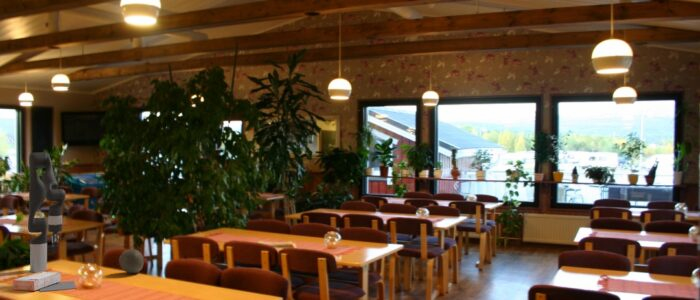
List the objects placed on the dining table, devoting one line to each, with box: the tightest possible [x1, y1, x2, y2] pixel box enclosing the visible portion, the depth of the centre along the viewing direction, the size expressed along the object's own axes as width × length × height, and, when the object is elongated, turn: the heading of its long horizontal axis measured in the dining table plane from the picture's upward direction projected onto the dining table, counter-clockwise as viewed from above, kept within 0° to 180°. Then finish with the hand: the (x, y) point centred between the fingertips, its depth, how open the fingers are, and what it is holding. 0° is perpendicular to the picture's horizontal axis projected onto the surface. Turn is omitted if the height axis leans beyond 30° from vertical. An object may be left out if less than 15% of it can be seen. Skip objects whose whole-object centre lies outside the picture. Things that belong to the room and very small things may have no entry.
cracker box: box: [12, 270, 62, 292], centre depth 335 cm, size 14×6×21 cm
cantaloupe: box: [118, 248, 144, 274], centre depth 371 cm, size 14×14×15 cm
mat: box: [39, 280, 77, 293], centre depth 336 cm, size 18×18×1 cm
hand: (54, 252), depth 349 cm, fingers closed
